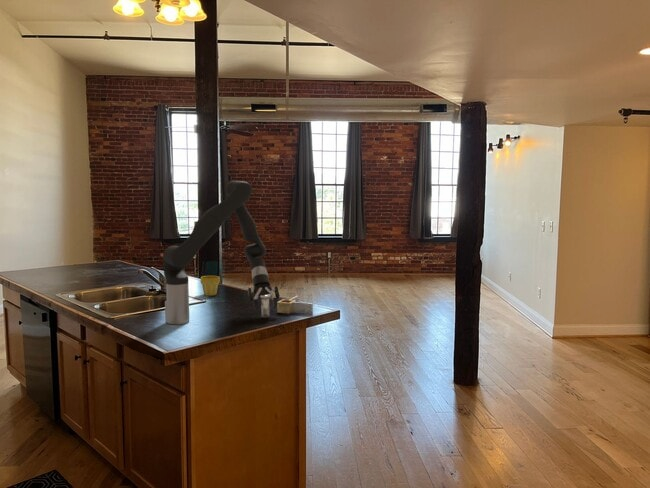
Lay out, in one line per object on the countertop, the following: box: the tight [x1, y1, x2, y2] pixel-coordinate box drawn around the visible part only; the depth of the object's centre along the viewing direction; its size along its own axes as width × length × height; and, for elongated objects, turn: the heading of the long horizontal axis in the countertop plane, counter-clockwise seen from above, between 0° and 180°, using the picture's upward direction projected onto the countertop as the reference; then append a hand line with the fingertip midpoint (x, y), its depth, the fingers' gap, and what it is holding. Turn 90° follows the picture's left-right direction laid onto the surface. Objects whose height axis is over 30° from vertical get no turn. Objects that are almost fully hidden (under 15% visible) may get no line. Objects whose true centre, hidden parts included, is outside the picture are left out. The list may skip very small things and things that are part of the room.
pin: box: [259, 294, 271, 319], centre depth 221 cm, size 5×5×10 cm
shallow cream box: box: [276, 295, 314, 315], centre depth 233 cm, size 17×17×5 cm
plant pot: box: [200, 275, 221, 296], centre depth 269 cm, size 10×10×10 cm
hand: (266, 307), depth 219 cm, fingers open, 8 cm apart
